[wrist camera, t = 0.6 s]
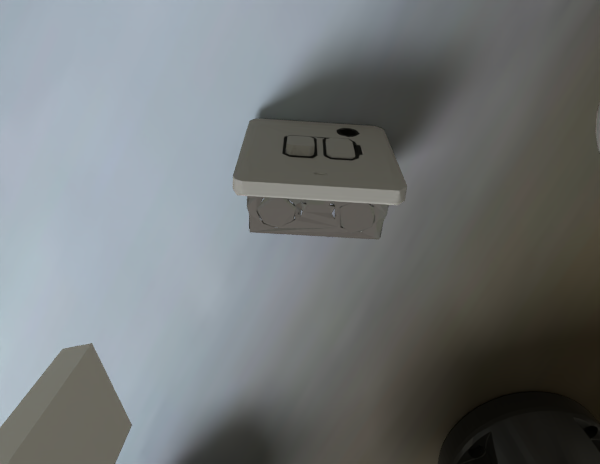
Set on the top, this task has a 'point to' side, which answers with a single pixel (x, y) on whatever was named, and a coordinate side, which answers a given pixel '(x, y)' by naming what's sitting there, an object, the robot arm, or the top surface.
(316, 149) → the electrical switch
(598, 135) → the mate gourd
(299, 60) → the top surface
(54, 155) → the top surface
